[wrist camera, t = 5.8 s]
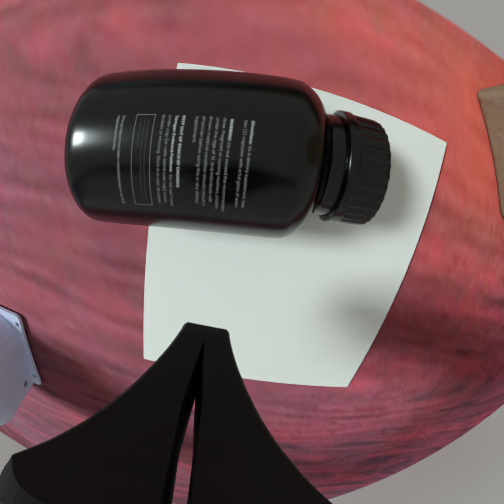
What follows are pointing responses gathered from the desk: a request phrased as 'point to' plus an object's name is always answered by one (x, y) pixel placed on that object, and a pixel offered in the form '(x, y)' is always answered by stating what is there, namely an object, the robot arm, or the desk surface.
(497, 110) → the wooden block
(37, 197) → the desk surface
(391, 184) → the mat
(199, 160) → the supplement bottle
